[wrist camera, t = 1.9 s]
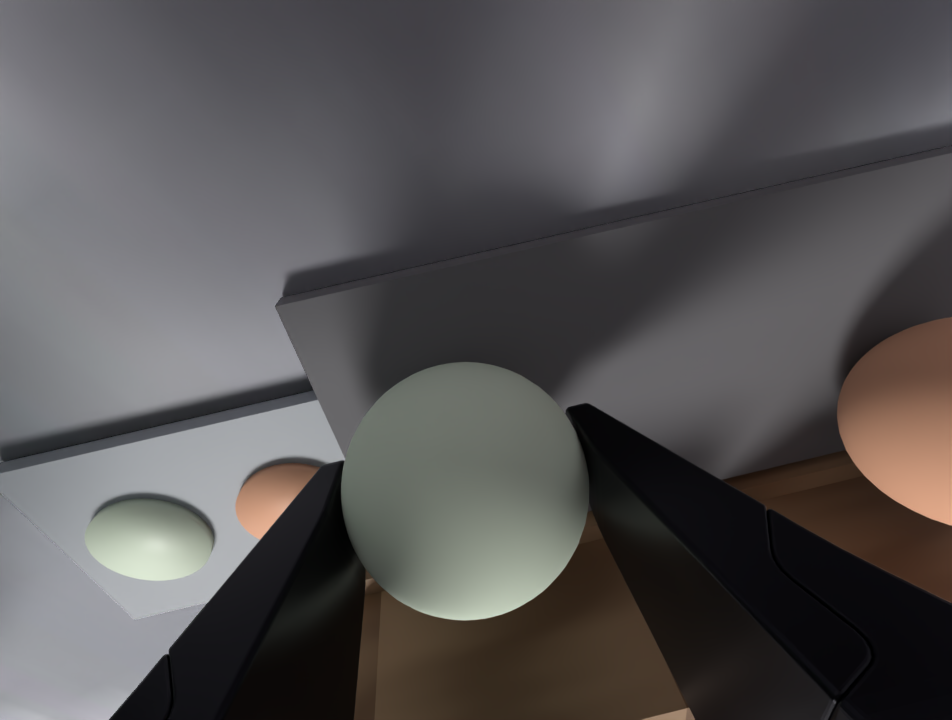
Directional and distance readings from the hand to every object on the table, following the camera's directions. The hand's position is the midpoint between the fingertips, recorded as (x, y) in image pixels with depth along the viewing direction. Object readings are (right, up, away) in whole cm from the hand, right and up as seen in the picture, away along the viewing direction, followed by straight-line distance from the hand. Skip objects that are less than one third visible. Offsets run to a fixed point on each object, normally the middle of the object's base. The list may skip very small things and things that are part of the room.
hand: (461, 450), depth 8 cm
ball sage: (0, +1, +1) cm, 1 cm away
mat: (+5, +2, +2) cm, 5 cm away
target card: (-5, -2, +2) cm, 6 cm away
